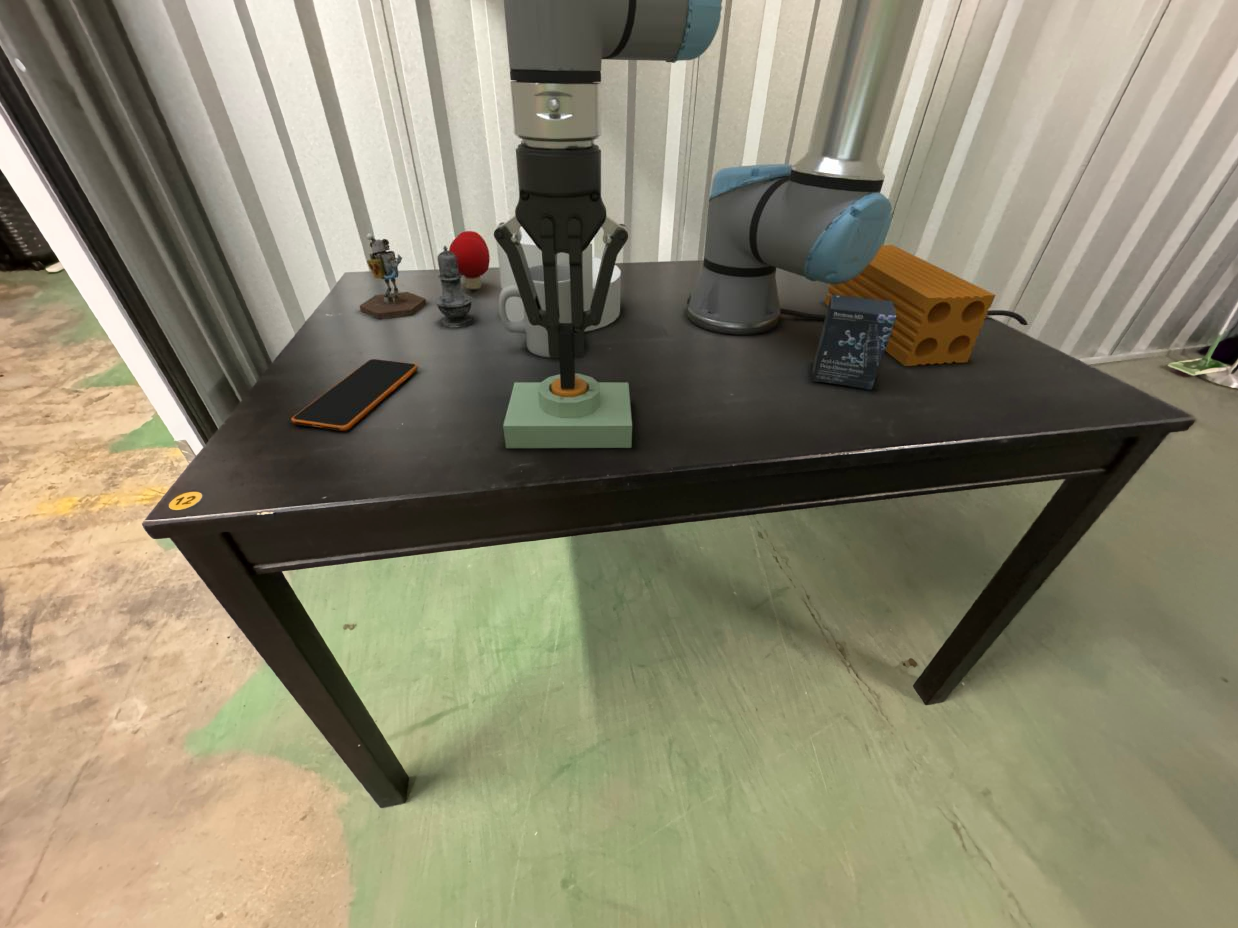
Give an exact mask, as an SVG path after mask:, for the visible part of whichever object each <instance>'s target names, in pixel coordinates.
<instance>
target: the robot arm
mask: <svg viewBox="0 0 1238 928" xmlns="http://www.w3.org/2000/svg"><path fill="white" fill-rule="evenodd" d="M924 1H925V0H842V1H841V4H840V8H839V13H838V18H837V22H836V26H835V29H834V34H833V39H832V43H831V46H830V51H829V56H828V60H827V65H826V70H825V74H824V78H823V82H822V86H821V91H820V95H819V100H818V103H817V108H816V113H815V117H814V122H813V125H812V130H811V135H810V138H809V143H808V147H807V152H805V154H804V155H803V156H802V157H801V158H800V159H799V160H797V161H796V162H795V163H794V164H789V163H773V164H769V163H768V164H752V165H738V166H731V167H730V166H729V167H723V168H720V169H719V170H718V171H717V172H716V173H715V174H714V176H713V177H712V182H711V188H710V195H709V196H708V207H707V218H706V231H705V242H704V253H703V254H704V255H703V264H702V270H701V273H700V274H699V277H698V280H697V282H696V283H695V286H694V289H693V292H691V293H690V294H689V296H688V298H687V299H686V300H687V301H686V306H687V314H686V315H687V318H688V319H689V321H690V322H692V324H694V325H696V326H698V327H699V328H703V329H705V330H707V331H711V332H716V333H720V334H727V335H738V336H739V335H742V336H743V335H744V336H745V335H756V334H762V333H765V332H768V331H771V330H772V329H774V328H776V326H777V325H778V323H779V319H780V314H781V315H786V316H793V317H797V318H801V319H802V318H803V319H809V320H817V321H825V318H826V314H816V313H809V312H804V311H803V312H802V311H797V310H793V309H787V308H780V301H779V292H778V286H777V285H778V284H777V279H776V272H777V269H779V270H782V271H786V272H788V273H791V274H794V275H797V276H800V277H804V278H805V279H806V280H809V281H811V282H820V283H824V284H828V285H831V284H833V285H836V284H842V283H845V282H847V281H850V280H851V279H853V278H854V277H856V276H857V275H858V274H860V273H861V272H862V271H863V270H864V269H865V267H866V266H868V265H869V264H870V262H871V261H872V260H873V258H874V257H875V256H876V254H877V253H878V251H879V249H880V248H881V246H883V245H884V242H885V240H886V238H887V235H888V233H889V230H890V227H891V223H892V218H893V213H891V212H892V210H893V208H892V203H891V200H890V199H889V198H888V197H886V195H884V194H883V193H882V192H881V191H882V188H883V184H884V182H885V179H886V175H885V173H884V172H883V169H882V168H881V166H880V164H879V162H878V158H879V154H880V151H881V148H882V145H883V141H884V138H885V134H886V132H887V131H886V130H887V128H888V125H889V121H890V117H891V115H892V114H891V113H892V110H893V107H894V104H895V100H896V97H897V93H898V90H899V88H900V83H901V80H902V76H903V73H904V69H905V66H906V62H907V61H908V60H907V59H908V57H909V53H910V49H911V46H912V43H913V40H914V35H915V32H916V28H917V25H918V21H919V17H920V15H921V12H922V8H923V5H924ZM722 5H723V0H503V9H504V19H505V32H506V41H507V42H506V43H507V54H508V65H509V66H508V67H509V78H510V91H511V92H510V95H511V108H512V109H511V110H512V122H513V134H514V135H515V136H516V137H517V138H518V139H521V141H520V143H519V144H518V145H517V148H515V159H516V161H515V162H516V171H517V183H518V185H517V186H518V195H519V196H518V201H517V204H516V206H515V209H514V215H513V216H511V217H510V218H509V219H508V220H507V221H505V222H500V223H499V224H498V225H497V227H495V229H496V230H495V229H494V231H493V237H494V239H495V242H496V241H497V242H498V243H499V245H500V246H501V247H502V249H503V250H504V251H505V253H506V254H507V257H508V260H509V263H510V266H511V269H512V272H513V275H514V278H515V281H516V284H517V287H518V290H519V293H520V296H521V299H522V302H523V305H524V308H525V311H526V314H527V317H528V320H529V322H530V324H531V325H534V326H537V325H539V326H542V327H544V328H545V329H546V330H547V333H548V348H549V355H550V357H551V358H550V359H558V360H559V374H560V381H561V389H574V386H575V374H576V362H575V361H576V360H575V359H583V357H584V356H585V332H584V330H585V329H586V328H587V327H589V326H592V325H593V326H597V325H599V324H600V322H601V318H602V314H603V310H604V306H605V302H606V298H607V294H608V290H609V286H610V282H611V278H612V274H613V270H614V266H615V265H616V261H617V258H618V255H619V253H620V252H621V250H622V249H623V247H624V245H625V244H626V243H627V241H628V239H629V233H628V227H627V225H625V224H624V223H618V222H616V221H615V220H614V219H612V218H611V217H610V216H608V215H607V207H606V206H605V203H604V201H603V198H602V149H601V148H600V147H599V145H598V144H595V140H598V139H599V138H600V137H601V136H602V62H603V61H602V60H607V61H608V60H609V61H610V60H611V61H612V60H613V61H651V62H652V61H654V62H658V61H659V62H660V61H661V62H666V63H672V64H675V63H676V62H682V61H683V62H684V61H692V60H695V59H697V58H699V57H701V56H702V55H703V54H704V53H706V51H707V50H708V49H709V48H710V46H711V45H712V43H713V41H714V39H715V37H716V35H717V32H718V29H719V26H720V23H721V18H722V15H721V12H722V9H723V6H722ZM521 226H522V228H523V229H524V230H525V232H526V233H527V234H528V235H529V237H530V238H531V239H532V241H533V242H534V243H535V245H536V246H537V247H538V248H539V249H540V250H541V251H542V263H543V273H544V290H545V307H546V311H545V310H542V308H541V305H540V302H539V298H538V295H537V292H536V289H535V286H534V283H533V279H532V276H531V273H530V270H529V267H528V264H527V260H526V257H525V254H524V251H523V248H522V245H521V243H520V241H521V239H522V233H521V231H520V227H521ZM601 228H602V230H603V233H602V242H603V243H604V244H605V245H604V248H603V251H602V256H601V259H602V260H601V264H600V268H599V273H598V277H597V281H596V285H595V290H594V294H593V298H592V302H591V307H590V310H587V311H584V297H583V251H584V250H585V249H586V248H587V247H588V246H589V244H590V243H592V241H593V240H594V238H595V237H596V235H598V233H599V231H600V229H601ZM561 252H563V253H567V254H569V265H570V290H571V317H572V323H560V322H559V319H560V314H559V291H558V269H557V253H561ZM988 316H989V317H990V316H991V317H992V316H1001V317H1003V316H1004V317H1009V318H1012V319H1014V320H1016V321H1017V322H1018V323H1019V324H1020V325H1022V326H1028V325H1029V324H1028V321H1027V320H1026V319H1025V317H1023V316H1022V315H1021V314H1019V313H1017V312H1015V311H1011V310H1004V309H1003V310H1001V309H991V310H988V314H987V317H988Z"/></svg>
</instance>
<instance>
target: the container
mask: <svg viewBox="0 0 1238 928" xmlns="http://www.w3.org/2000/svg"><path fill="white" fill-rule="evenodd" d="M495 230H496V228H495V229H494V231H495ZM520 231H521V233H522V239H521V241H520V243H521V245H522V248H523V251H524V254H525V257H526V260H527V264H528V267H529V268H530V267H533V266H537V265H543V263H542V251H541V250H540V249H539V248H538V247H537V246H536V245H535V243H534V242H533V241H532V239H531V238H530V237H529V235H528V234H527V233H526V232H525V230H524V229H523V228H522V226H521V227H520ZM495 243H496V253H497V260H498V267H499V268H498V269H499V277H500V278H499V279H500V286H501V291H502V290H503V289H504V288H506V287H508V286H512V285H517V284H516V281H515V278H514V275H513V272H512V269H511V266H510V263H509V260H508V257H507V254H506V253H505V251H504V250H503V249H502V247H501V246H500V245H499V243H498V242H497V241H496V240H495ZM601 260H602V258H598V257H594V256H593V243H592V242H591V243H590V244H589V246H588V247H587V248H586V249H585V250H584V251H583V297H584V311H587V310H590V307H591V302H592V298H593V294H594V290H595V285H596V281H597V277H598V273H599V268H600V264H601ZM557 264H559V265H567V266H570V265H569V254H567V253H563V252H561V253H557ZM621 274H622V271H621V269H620V268H619V266H617V265H616V264H615V266H614V270H613V274H612V278H611V282H610V286H609V290H608V294H607V298H606V302H605V306H604V310H603V314H602V318H601V322H600V324H599V325H597V326H593V325H592V326H589V327H587V328H586V329H585V330H584V333H585V332H590V331H595V330H597V329H600V328H604V327H606V326H608V325H610V324H613V323H614V322H615V321H616V320H617V319H618V318H619V316H620V313H621V282H622V281H621V280H622V275H621ZM505 310H506V315H507V317H508V319H509V320H510V321H512V322H519V321H522V320H523V319H524V306H523V302H522V299H521V298H520V297H510V298H508V299H507V301H506V305H505Z"/></svg>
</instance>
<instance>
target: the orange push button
mask: <svg viewBox="0 0 1238 928" xmlns="http://www.w3.org/2000/svg"><path fill="white" fill-rule="evenodd" d="M551 387H552V394H554V395H557V396H561V397H576V396H580V395H583V394H585V393H586V392H587V383H586V382H585V381H584V380H583V379H581V378H578V377H575V386H574V389H561V381H560V378H558V379H556V380H555V381H553V382H552V385H551Z"/></svg>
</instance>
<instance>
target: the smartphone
mask: <svg viewBox="0 0 1238 928" xmlns="http://www.w3.org/2000/svg"><path fill="white" fill-rule="evenodd" d="M418 369H419V366H418V364H416V363H411V362H403V361H395V360H386V359H379V358H371V359H368V360H367V361H366V362H364V363H363V364H362V365H360V366H359V367H358V368H356V369H355V370H353V371H352V372H351V373H350V374H348V375H347V376H346V377H344V378H342V379H341V380H340V381H339V382H338V383H336V384H335V385H333V386H332V387H331V388H330V389H328V390H327V391H325V392H324V393H323V394H322V395H320V396H319V397H318V398H316V399H315V400H313V401H312V402H311V403H309V404H308V405H307V406H305V407H304V408H303V409H302V410H300V411H299V412H298V413H296V414H294V416H292V417H291V419H290V420H291V422H292V424H295V425H298V426H299V425H301V426H307V427H315V428H321V429H328V430H335V431H348V430H350V429H351V428H352V427H353V426H355V425H356V424H357V423H358V422H359V421H360V420H361V419H363V418H364V417H365V416H366V415H367V414H369V412H370V411H372V410H373V409H374V408H375V407H376V406H378V404H380V403H381V402H382V401H383V400H384V399H386V397H388V396H389V395H390V394H391V393H392V392H394V391H395V390H396V389H397V388H398V387H399V386H400V385H402V384H403V382H406V380H407V379H408V378H409V377H411V376H412V375H413V374H414V373H415V372H416V371H417V370H418Z"/></svg>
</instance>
